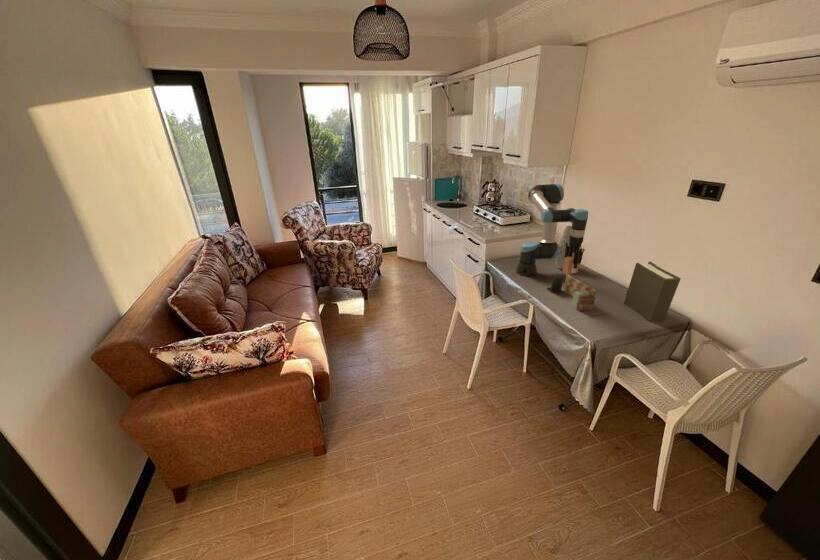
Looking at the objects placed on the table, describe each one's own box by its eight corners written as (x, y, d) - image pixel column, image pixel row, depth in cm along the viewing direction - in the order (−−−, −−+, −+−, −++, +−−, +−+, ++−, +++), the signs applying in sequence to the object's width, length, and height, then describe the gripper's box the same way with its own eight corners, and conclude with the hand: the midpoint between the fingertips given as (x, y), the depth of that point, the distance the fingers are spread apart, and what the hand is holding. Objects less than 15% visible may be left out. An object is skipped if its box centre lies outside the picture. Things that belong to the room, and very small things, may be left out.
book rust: (562, 272, 207) (565, 257, 203) (573, 270, 209) (575, 255, 205) (566, 274, 203) (569, 259, 199) (577, 272, 205) (580, 257, 201)
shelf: (551, 293, 220) (554, 277, 215) (564, 290, 223) (567, 274, 218) (579, 311, 198) (583, 294, 193) (594, 308, 201) (598, 291, 196)
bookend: (546, 288, 226) (548, 275, 221) (556, 286, 228) (558, 273, 223) (551, 292, 221) (553, 278, 217) (561, 290, 223) (563, 276, 219)
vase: (548, 263, 265) (554, 223, 250) (569, 262, 264) (576, 223, 250) (555, 271, 250) (562, 230, 235) (577, 271, 249) (586, 229, 235)
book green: (571, 305, 205) (574, 291, 201) (582, 303, 207) (585, 289, 203) (576, 308, 202) (579, 294, 197) (586, 306, 204) (590, 292, 199)
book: (665, 321, 187) (682, 277, 174) (650, 323, 186) (666, 279, 173) (637, 302, 206) (650, 261, 193) (623, 303, 205) (636, 262, 192)
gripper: (561, 232, 202) (556, 267, 212) (582, 240, 188) (575, 277, 198) (572, 231, 204) (565, 265, 214) (593, 239, 189) (585, 275, 199)
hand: (570, 271), depth 206 cm, fingers closed on book rust, 4 cm apart
